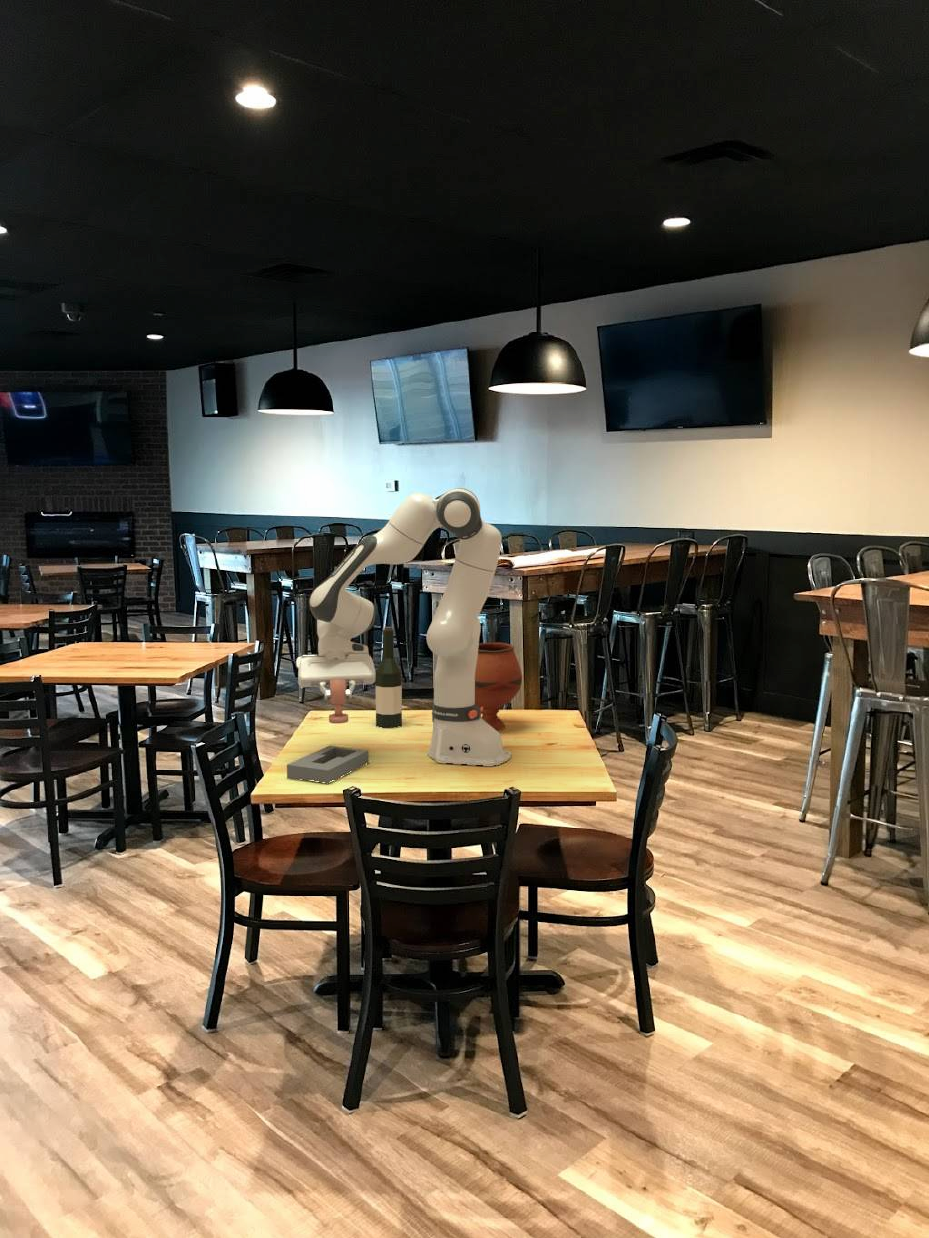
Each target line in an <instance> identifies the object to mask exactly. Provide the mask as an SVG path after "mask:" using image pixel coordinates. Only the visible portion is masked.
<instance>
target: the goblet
mask: <svg viewBox="0 0 929 1238" xmlns="http://www.w3.org/2000/svg"><path fill="white" fill-rule="evenodd" d="M514 649H515V647H514V646H513V645H512V644H510V643H506V642H479V647H478V656H477V663H476V671H475V703H476V705H477V706H478V707H479V708H481V707H483V709H482V710H483V711H481V718H482V719H483V720H484V721H485V722H487V723H488V724H489V725H490V726H491V727H493V728H494V729H495V730H496V731H499V730H500V731H501V730H503V729H505V727H506V725H505V723H504V721H503V720H502V719H501V718H500V717H499V716H498V713H499V712H500V708H502V707H504V706H505V705H507V704H508V703H509V702H511V701H512V700H513V699H514V698H515V697H516V696H517V695H518V693H519V691H520V690H521V687H522V683H523V675H522V670H521V665H520V662H519V660H518V658H517V656H516V653H515V650H514Z"/></svg>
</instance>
